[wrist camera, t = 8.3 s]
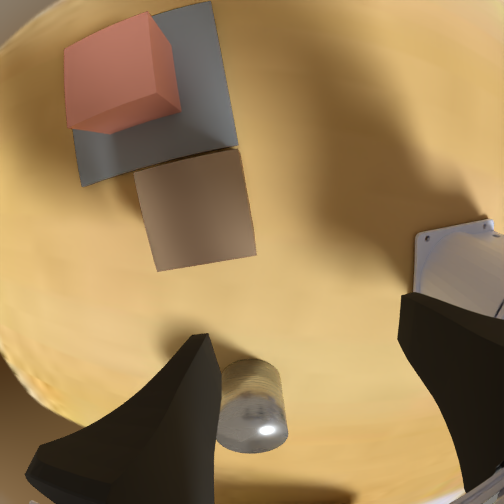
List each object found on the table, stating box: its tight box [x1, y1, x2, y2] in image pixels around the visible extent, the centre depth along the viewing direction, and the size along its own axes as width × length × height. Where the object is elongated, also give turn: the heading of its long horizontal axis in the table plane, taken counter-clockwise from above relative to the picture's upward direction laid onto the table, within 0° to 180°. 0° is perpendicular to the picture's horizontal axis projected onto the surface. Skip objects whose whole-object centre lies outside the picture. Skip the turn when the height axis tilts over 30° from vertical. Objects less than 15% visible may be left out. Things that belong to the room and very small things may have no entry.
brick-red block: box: [64, 11, 182, 134], centre depth 12 cm, size 5×5×5 cm
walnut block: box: [133, 149, 257, 272], centre depth 15 cm, size 5×5×5 cm
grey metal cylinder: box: [216, 359, 288, 453], centre depth 19 cm, size 5×5×6 cm
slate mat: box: [73, 1, 238, 187], centre depth 15 cm, size 11×11×1 cm
